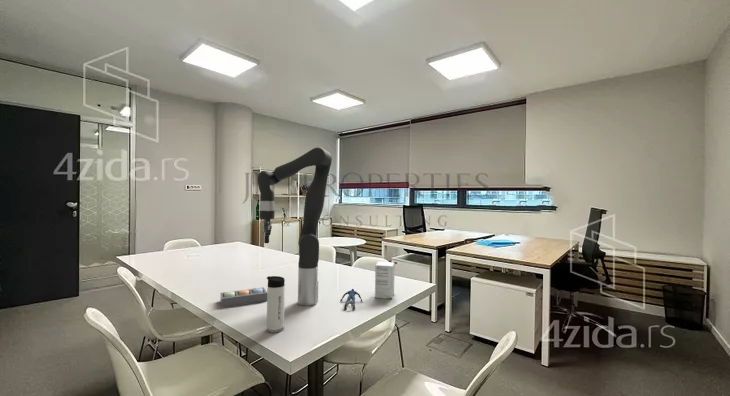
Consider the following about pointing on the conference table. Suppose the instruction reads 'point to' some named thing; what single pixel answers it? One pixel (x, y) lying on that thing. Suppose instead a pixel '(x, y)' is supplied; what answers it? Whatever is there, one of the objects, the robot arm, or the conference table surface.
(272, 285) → the travel mug
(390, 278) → the supplement box
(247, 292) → the orange button
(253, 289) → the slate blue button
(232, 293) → the sage button
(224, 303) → the tray
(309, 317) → the conference table surface
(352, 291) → the person figurine
